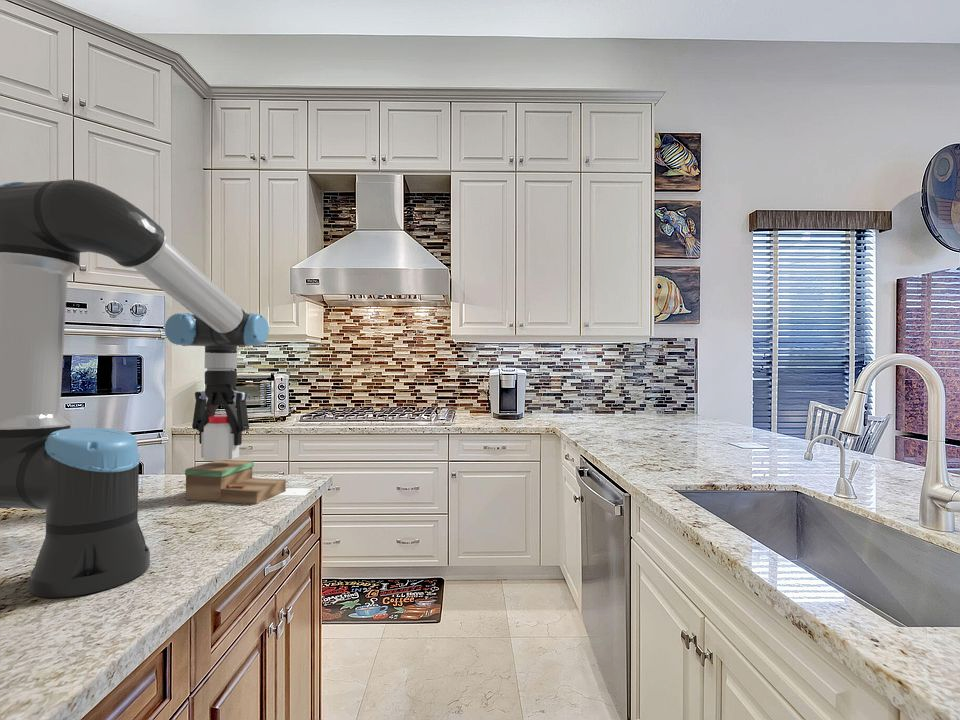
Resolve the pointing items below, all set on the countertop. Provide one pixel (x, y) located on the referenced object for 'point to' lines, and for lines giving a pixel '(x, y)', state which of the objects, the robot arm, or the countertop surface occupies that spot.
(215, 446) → the pill bottle
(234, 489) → the stand
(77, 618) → the countertop surface
